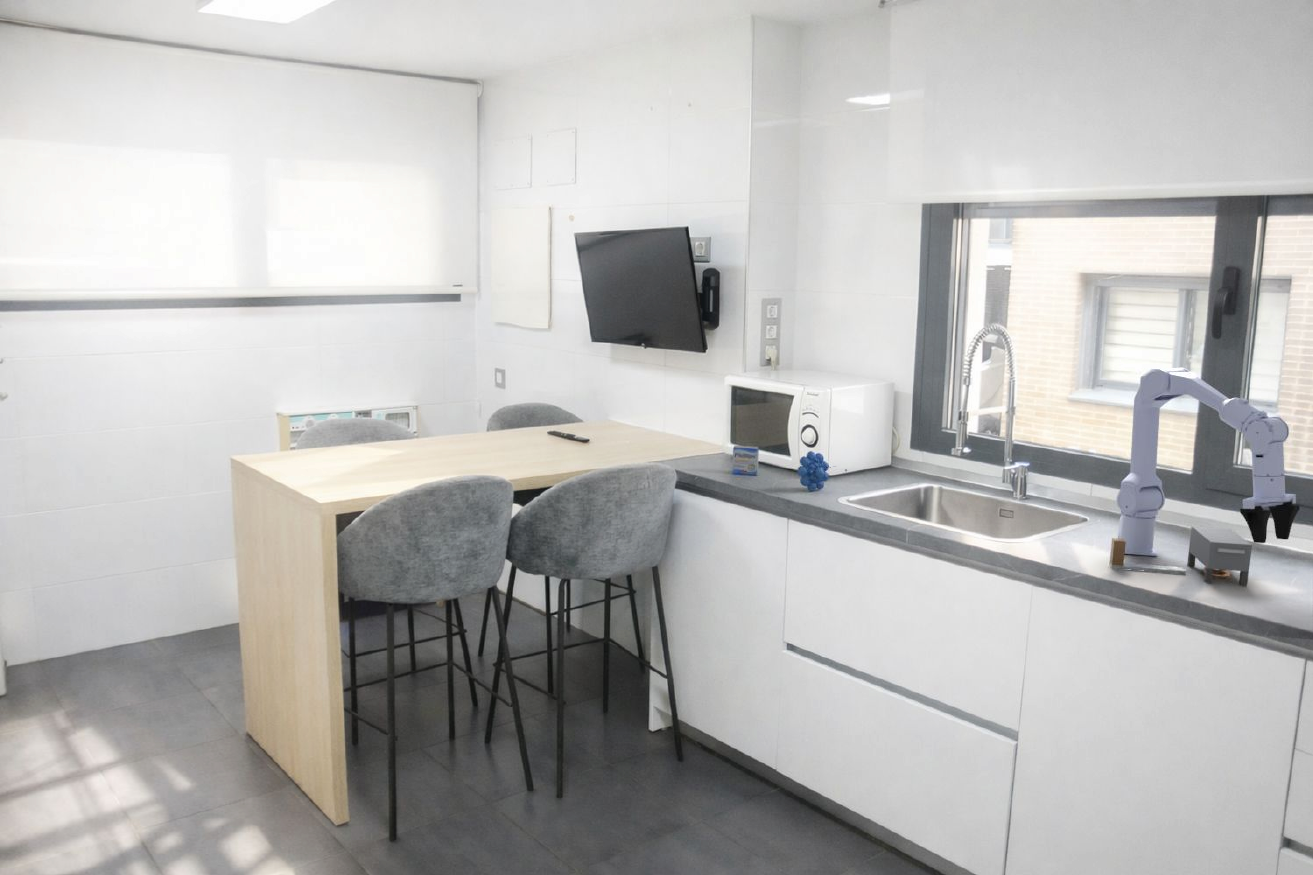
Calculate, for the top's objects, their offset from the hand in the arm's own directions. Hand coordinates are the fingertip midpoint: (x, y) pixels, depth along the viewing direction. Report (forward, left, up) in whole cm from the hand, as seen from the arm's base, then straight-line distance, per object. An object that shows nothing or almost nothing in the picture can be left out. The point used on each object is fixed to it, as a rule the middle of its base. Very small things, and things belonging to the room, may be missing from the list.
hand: (1271, 540), depth 214 cm
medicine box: (-86, -121, -11) cm, 149 cm away
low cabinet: (-8, -7, -11) cm, 15 cm away
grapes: (-66, -98, -11) cm, 119 cm away
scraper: (-8, -21, -11) cm, 25 cm away
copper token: (-8, -7, -11) cm, 15 cm away
